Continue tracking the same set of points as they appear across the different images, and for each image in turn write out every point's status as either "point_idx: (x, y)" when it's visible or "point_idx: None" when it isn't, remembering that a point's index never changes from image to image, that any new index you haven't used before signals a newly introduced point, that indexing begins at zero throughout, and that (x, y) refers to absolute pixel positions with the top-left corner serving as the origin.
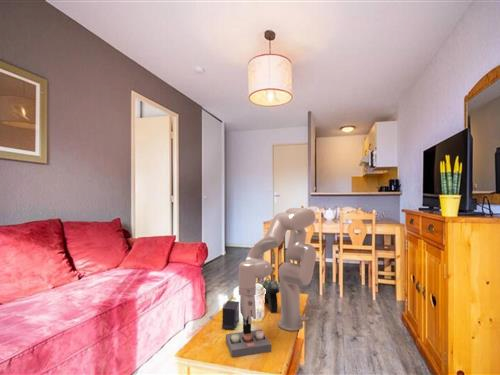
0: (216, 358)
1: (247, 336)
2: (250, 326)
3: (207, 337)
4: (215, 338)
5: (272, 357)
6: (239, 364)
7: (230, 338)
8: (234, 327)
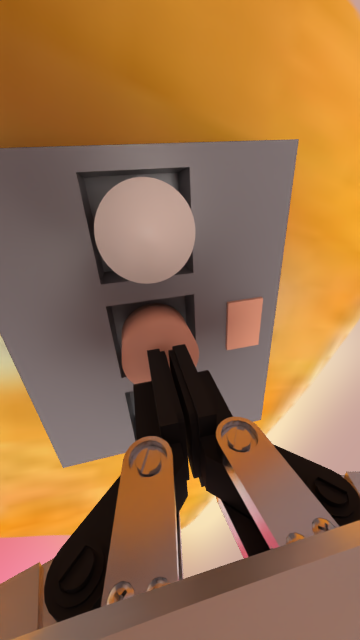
0: None
1: (196, 361)
2: (205, 394)
3: (27, 503)
4: (38, 473)
5: (326, 170)
6: (301, 362)
7: (128, 437)
8: None
